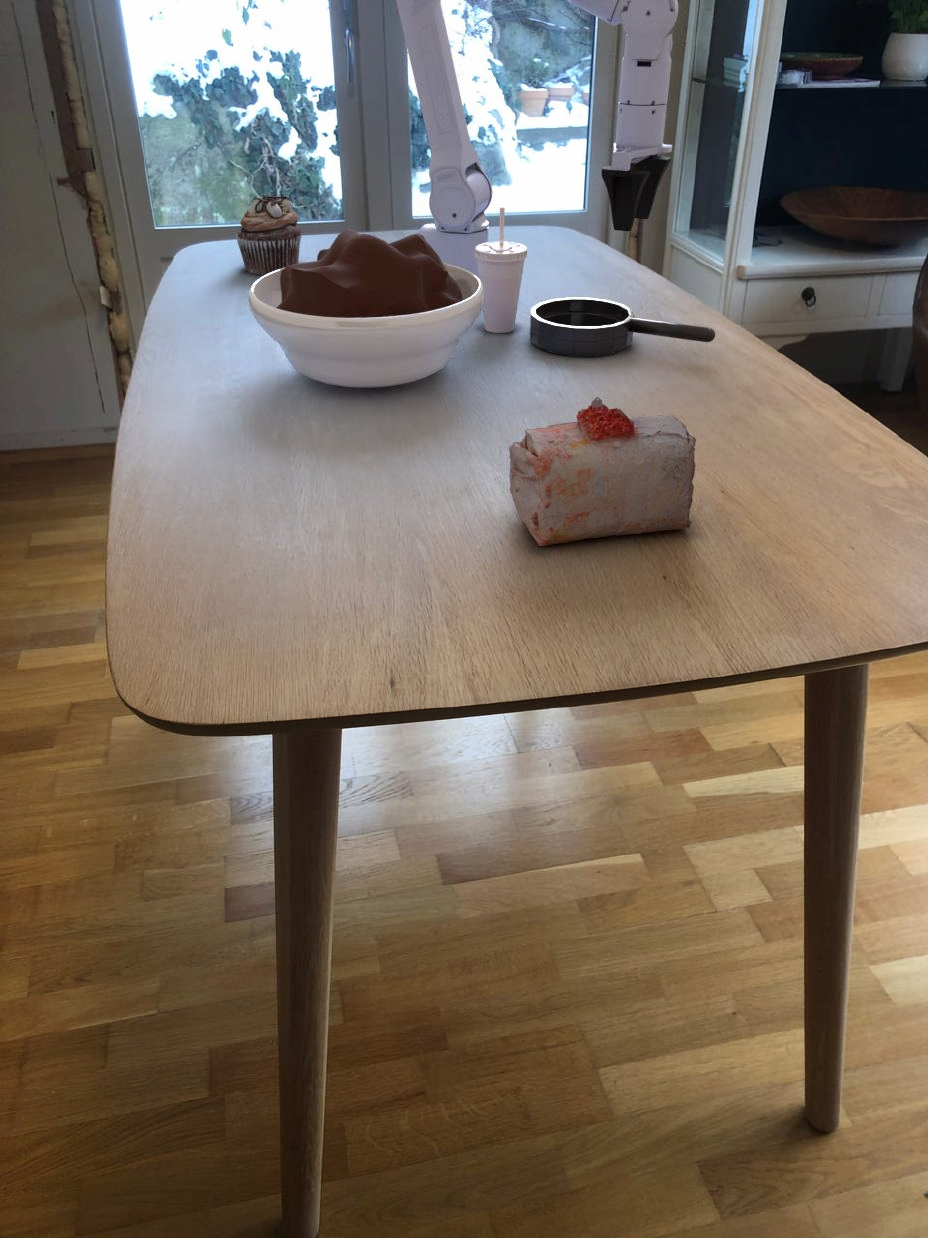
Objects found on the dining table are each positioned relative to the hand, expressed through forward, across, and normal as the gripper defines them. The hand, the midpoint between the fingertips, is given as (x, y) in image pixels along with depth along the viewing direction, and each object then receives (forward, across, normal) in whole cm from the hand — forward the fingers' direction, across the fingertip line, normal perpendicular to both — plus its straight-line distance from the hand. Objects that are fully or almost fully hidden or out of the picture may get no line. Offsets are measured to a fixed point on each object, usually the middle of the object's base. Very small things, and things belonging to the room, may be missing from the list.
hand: (631, 223), depth 121 cm
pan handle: (+8, -16, -10) cm, 21 cm away
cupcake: (+11, -3, +54) cm, 55 cm away
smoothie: (+11, -16, +11) cm, 22 cm away
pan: (+10, -16, 0) cm, 19 cm away
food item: (+11, -59, -16) cm, 62 cm away
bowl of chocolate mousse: (+11, -36, +18) cm, 42 cm away
